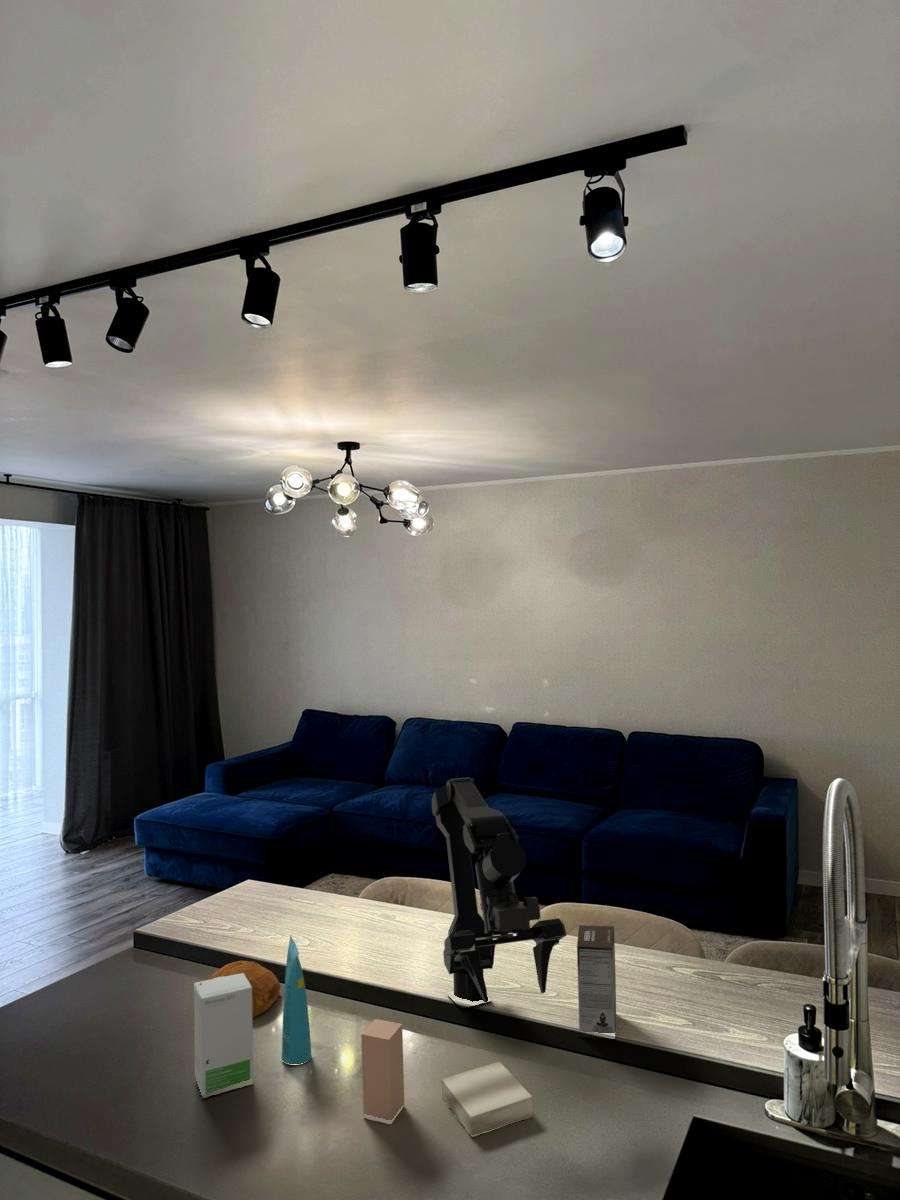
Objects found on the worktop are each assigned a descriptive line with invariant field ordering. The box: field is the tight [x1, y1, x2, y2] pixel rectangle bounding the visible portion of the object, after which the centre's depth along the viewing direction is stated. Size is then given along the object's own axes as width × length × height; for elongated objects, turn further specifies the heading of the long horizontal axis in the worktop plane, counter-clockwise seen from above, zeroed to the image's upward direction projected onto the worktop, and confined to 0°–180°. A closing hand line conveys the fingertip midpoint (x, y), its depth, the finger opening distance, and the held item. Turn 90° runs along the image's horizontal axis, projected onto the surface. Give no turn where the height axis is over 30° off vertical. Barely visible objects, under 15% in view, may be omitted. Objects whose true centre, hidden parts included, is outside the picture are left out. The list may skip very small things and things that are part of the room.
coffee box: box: [576, 924, 617, 1033], centre depth 142 cm, size 9×6×16 cm
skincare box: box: [193, 973, 254, 1096], centre depth 129 cm, size 8×7×16 cm
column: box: [360, 1018, 405, 1120], centre depth 120 cm, size 4×4×12 cm
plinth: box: [441, 1061, 533, 1135], centre depth 120 cm, size 10×10×3 cm
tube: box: [281, 934, 312, 1064], centre depth 134 cm, size 7×5×19 cm, turn 26°
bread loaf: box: [206, 960, 281, 1019], centre depth 153 cm, size 14×16×8 cm
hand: (514, 997), depth 123 cm, fingers open, 9 cm apart
